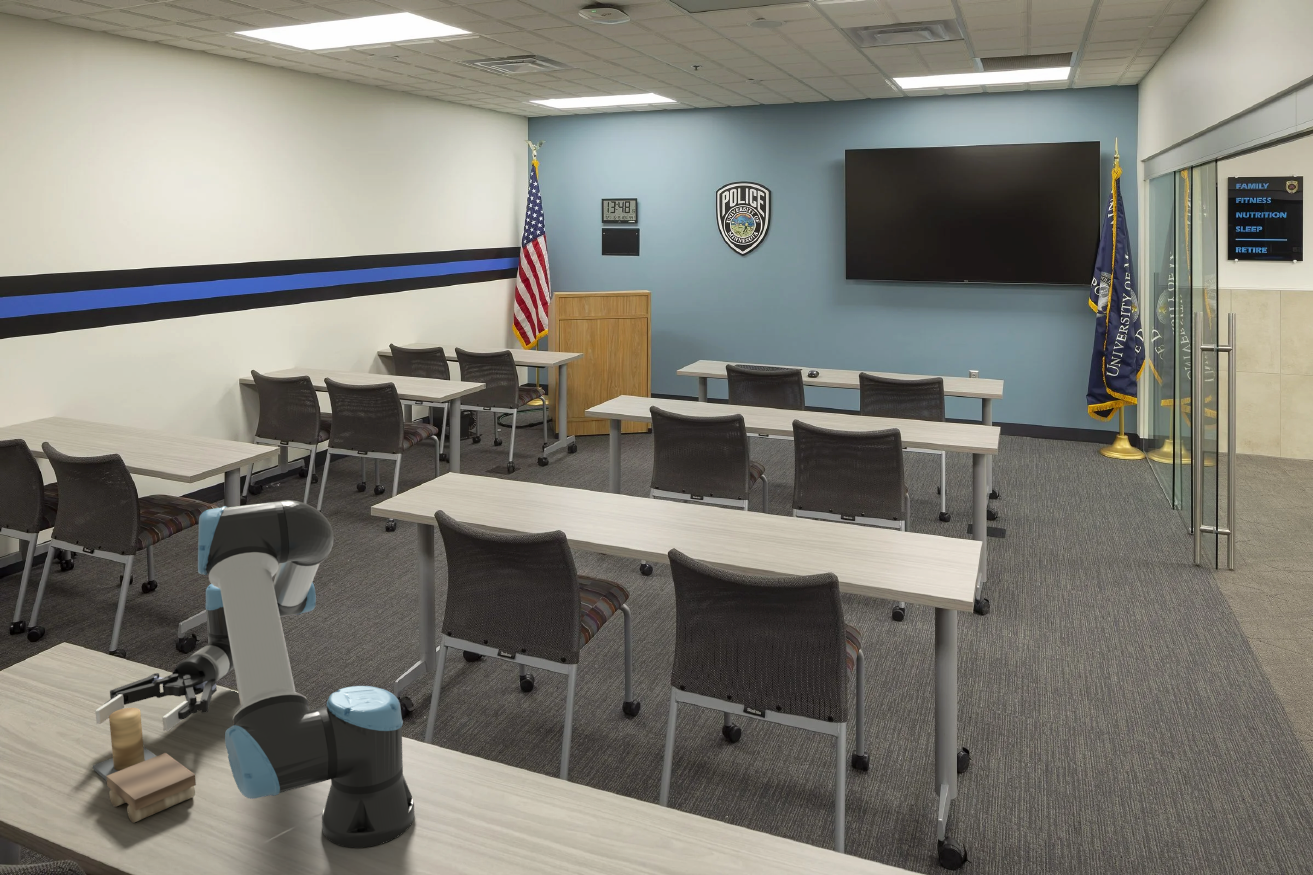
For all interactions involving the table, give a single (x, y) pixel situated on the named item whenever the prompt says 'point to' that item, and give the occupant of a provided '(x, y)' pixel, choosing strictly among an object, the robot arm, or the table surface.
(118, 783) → the slab
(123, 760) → the roller
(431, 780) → the table surface
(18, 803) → the table surface
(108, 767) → the pad
